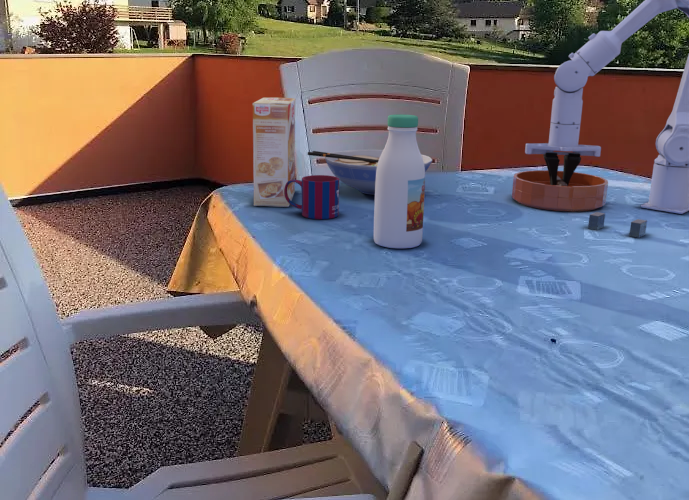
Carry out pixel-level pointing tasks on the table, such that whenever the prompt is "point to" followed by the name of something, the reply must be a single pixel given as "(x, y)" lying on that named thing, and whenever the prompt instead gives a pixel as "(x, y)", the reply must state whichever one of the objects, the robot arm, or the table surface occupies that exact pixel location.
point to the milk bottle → (400, 186)
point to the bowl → (559, 191)
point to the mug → (317, 196)
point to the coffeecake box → (273, 150)
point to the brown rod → (560, 182)
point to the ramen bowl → (357, 167)
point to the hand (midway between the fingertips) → (558, 190)
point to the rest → (635, 230)
